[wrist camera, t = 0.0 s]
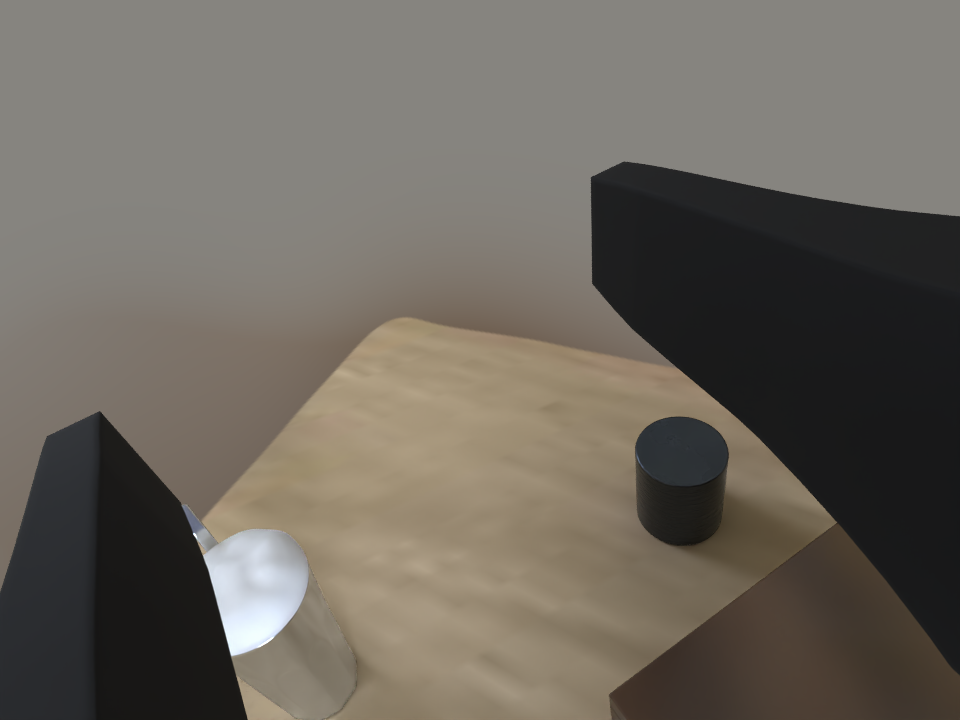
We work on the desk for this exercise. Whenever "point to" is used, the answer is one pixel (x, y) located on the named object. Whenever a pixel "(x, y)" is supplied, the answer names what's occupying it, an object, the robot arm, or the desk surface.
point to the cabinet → (801, 652)
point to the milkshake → (278, 621)
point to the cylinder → (680, 479)
